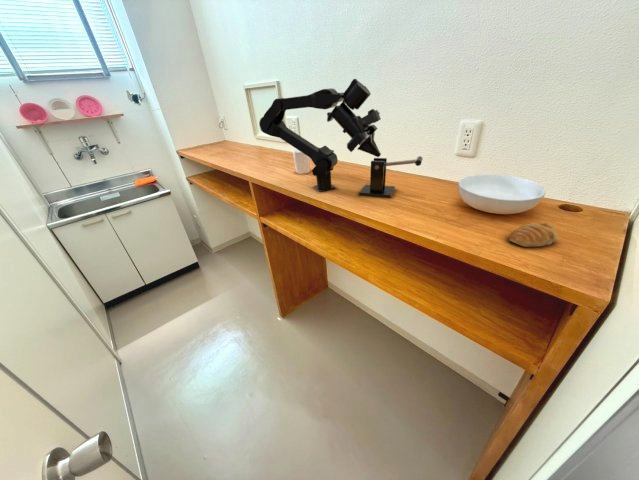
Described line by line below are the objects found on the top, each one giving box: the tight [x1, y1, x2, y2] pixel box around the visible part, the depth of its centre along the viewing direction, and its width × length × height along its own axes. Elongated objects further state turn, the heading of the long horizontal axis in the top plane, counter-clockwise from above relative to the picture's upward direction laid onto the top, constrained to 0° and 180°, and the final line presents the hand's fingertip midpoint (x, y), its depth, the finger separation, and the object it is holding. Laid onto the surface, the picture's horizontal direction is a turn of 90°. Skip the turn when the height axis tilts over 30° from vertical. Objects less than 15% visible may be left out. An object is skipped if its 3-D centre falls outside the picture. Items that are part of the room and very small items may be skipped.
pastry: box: [509, 221, 558, 248], centre depth 58 cm, size 9×7×4 cm
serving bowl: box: [457, 173, 547, 215], centre depth 74 cm, size 21×21×7 cm
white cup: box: [292, 149, 311, 175], centre depth 119 cm, size 8×8×10 cm
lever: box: [382, 155, 424, 167], centre depth 84 cm, size 15×5×2 cm, turn 66°
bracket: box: [358, 157, 396, 199], centre depth 89 cm, size 11×9×12 cm
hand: (379, 155), depth 85 cm, fingers closed
